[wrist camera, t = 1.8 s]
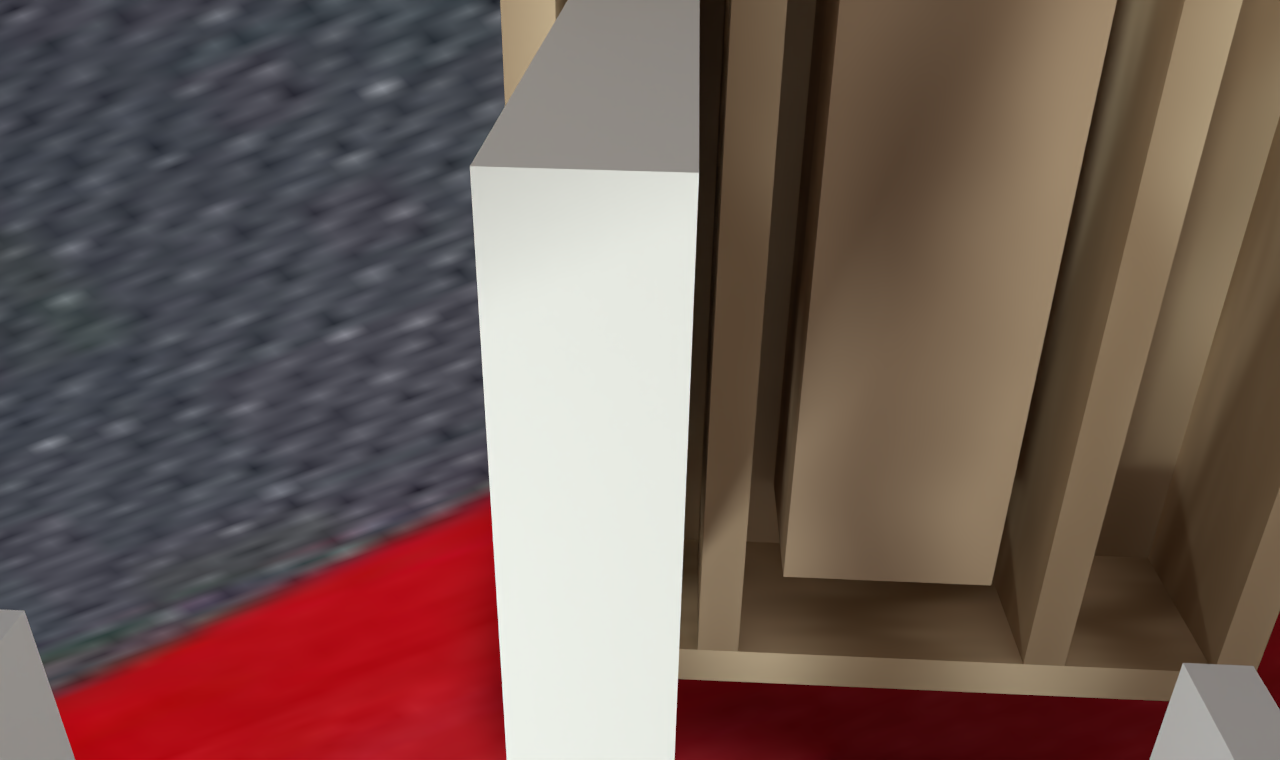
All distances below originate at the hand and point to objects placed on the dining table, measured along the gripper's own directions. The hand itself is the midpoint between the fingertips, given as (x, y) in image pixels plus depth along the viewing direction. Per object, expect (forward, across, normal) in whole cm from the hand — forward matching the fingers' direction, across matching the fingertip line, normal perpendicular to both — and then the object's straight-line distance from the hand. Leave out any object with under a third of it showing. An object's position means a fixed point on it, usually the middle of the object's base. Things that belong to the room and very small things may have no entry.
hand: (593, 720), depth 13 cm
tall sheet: (+16, 0, 0) cm, 16 cm away
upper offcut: (+14, -6, 0) cm, 15 cm away
